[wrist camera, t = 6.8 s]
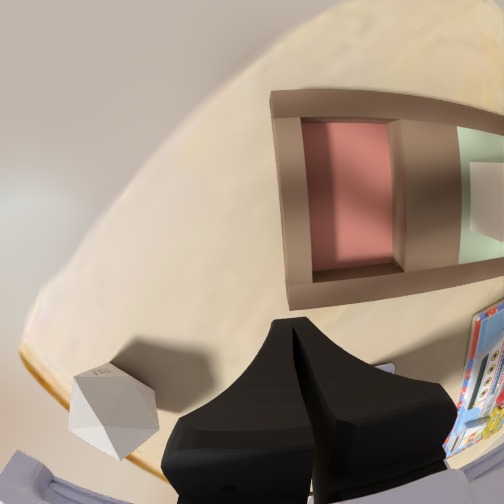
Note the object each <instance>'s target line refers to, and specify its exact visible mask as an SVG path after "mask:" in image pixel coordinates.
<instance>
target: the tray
mask: <svg viewBox="0 0 504 504" xmlns="http://www.w3.org/2000/svg"><path fill="white" fill-rule="evenodd" d="M270 110H271V119H272V128H273V137H274V147H275V157H276V167H277V177H278V188H279V199H280V211H281V223H282V235H283V249H284V263H285V278H286V294H287V299H288V304H289V309H290V311H293V310H303V309H313V308H322V307H330V306H338V305H346V304H354V303H361V302H368V301H375V300H382V299H388V298H395V297H401V296H407V295H413V294H418V293H424V292H429V291H435V290H440V289H445V288H450V287H455V286H460V285H465V284H469V283H474V282H478V281H483V280H487V279H492V278H496V277H500V276H504V243H502V242H500V241H497V240H495V239H492V238H489V237H487V236H484V235H481V234H478V233H476V232H473V231H470V212H471V186H470V163H469V162H492V163H504V116H501V115H497V114H494V113H491V112H487V111H484V110H480V109H476V108H472V107H468V106H464V105H460V104H455V103H451V102H446V101H441V100H435V99H430V98H424V97H417V96H410V95H403V94H395V93H385V92H374V91H359V90H334V89H305V90H279V91H271V94H270Z"/></svg>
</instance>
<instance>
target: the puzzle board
mask: <svg viewBox="0 0 504 504" xmlns="http://www.w3.org/2000/svg"><path fill="white" fill-rule="evenodd" d="M455 405H456V407H457V409H458V416H457V419H456V422H455V424H454V427H453V428H452V430H451V432H450V434H449V436H448V437H447V439H446V441H445V443H444V444H443V448H444V450H445V452H446V458H445V459H447V458H449V457H451V456H453V455H455V454H457V453H459V452H461V451H463V450H465V449H466V448H468V447H470V446H472V445H473V444H475V443H477V442H478V441H480V440H482V439H483V438H484V439H487V438H489V437H490V436H492V435H493V434H495V433H496V432H498V431H499V430H500V429H502V428H503V426H504V298H502V299H501V300H499V301H497V302H495V303H493V304H492V305H490V306H488V307H486V308H484V309H482V310H481V311H479V312H477V313H475V314H474V315H473V317H472V322H471V330H470V337H469V344H468V350H467V355H466V361H465V366H464V371H463V375H462V380H461V384H460V388H459V392H458V396H457V400H456V404H455Z"/></svg>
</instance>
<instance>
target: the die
mask: <svg viewBox="0 0 504 504" xmlns="http://www.w3.org/2000/svg"><path fill="white" fill-rule="evenodd" d="M69 416H70V417H69V430H70V431H71V432H73V433H75V434H76V435H77V436H79V437H81V438H82V439H84V440H85V441H87V442H88V443H90V444H92V445H93V446H95V447H97V448H98V449H100V450H102V451H103V452H105V453H107V454H109V455H110V456H112V457H114V458H116V459H118V460H120V461H121V460H122V459H124V458H125V457H126V456H128V455H129V454H130V453H131V452H133V451H134V450H135V449H136V448H138V447H139V446H140V445H141V444H142V443H144V442H145V441H146V440H147V439H148V438H150V437H151V436H152V435H153V434H154V433H156V432H157V431H158V430H159V422H158V414H157V406H156V398H155V390H153V389H152V388H150V387H148V386H146V385H145V384H143V383H141V382H140V381H138V380H136V379H135V378H133V377H131V376H130V375H128V374H127V373H125V372H123V371H122V370H120V369H118V368H117V367H115V366H114V365H112V364H111V363H106V364H104V365H101V366H99V367H96V368H94V369H91V370H89V371H86V372H84V373H81V374H79V375H76V376H74V377H73V383H72V392H71V402H70V415H69Z"/></svg>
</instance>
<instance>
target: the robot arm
mask: <svg viewBox="0 0 504 504" xmlns="http://www.w3.org/2000/svg"><path fill="white" fill-rule="evenodd" d="M394 371H395V366H394V364H393V363H388V364H384V365H379V366H372V365H370V364H368V363H365V362H363V361H362V360H360V359H358V358H356V357H354V356H353V355H351V354H349V353H348V352H346V351H345V350H343V349H342V348H341V347H339V346H338V345H336V344H335V343H334V342H333V341H331V340H330V339H329V338H328V337H327V336H326V335H324V334H323V333H322V332H321V331H320V330H319V329H318V328H317V327H316V326H315V325H314V324H313V323H312V322H311V321H310V320H309V319H308V318H307V317H297V318H287V319H276V320H273V321H272V323H271V328H270V330H269V333H268V335H267V338H266V340H265V341H264V343H263V345H262V347H261V349H260V351H259V352H258V354H257V355H256V357H255V358H254V360H253V361H252V362H251V364H250V365H249V366H248V368H247V369H246V370H245V371H244V372H243V374H242V375H241V376H240V377H239V378H238V379H237V380H236V381H235V382H234V383H233V384H232V385H231V386H230V387H228V388H227V389H226V390H225V391H224V392H222V393H221V394H220V395H218V396H217V397H216V398H214V399H213V400H211V401H210V402H208V403H207V404H205V405H203V406H202V407H200V408H198V409H196V410H194V411H192V412H190V413H189V414H187V415H185V416H183V417H180V418H179V419H178V421H177V423H176V425H175V427H174V429H173V431H172V433H171V435H170V437H169V439H168V442H167V445H166V448H165V451H164V455H163V458H162V462H161V469H162V471H163V474H164V475H165V477H166V478H167V480H168V481H169V482H170V484H171V485H172V487H173V488H174V489H175V490H176V492H177V493H178V495H179V497H178V501H177V504H504V443H503V444H501V445H500V446H498V447H497V448H495V449H494V450H492V451H490V452H488V453H487V454H485V455H483V456H482V457H480V458H478V459H477V460H475V461H473V462H471V463H469V464H467V465H465V466H463V467H461V468H459V469H451V468H450V466H449V464H448V463H447V461H446V459H445V458H446V452H445V450H444V448H443V444H444V443H445V441H446V439H447V437H448V436H449V434H450V432H451V430H452V428H453V427H454V424H455V422H456V419H457V416H458V409H457V407H456V405H455V404H454V402H453V401H452V399H451V398H450V396H449V395H448V393H447V392H446V391H445V390H444V388H443V387H442V386H441V385H440V384H438V383H431V382H425V381H419V380H414V379H409V378H406V377H402V376H399V375H395V374H394ZM311 479H312V487H313V496H311V498H310V499H309V502H308V503H307V501H308V497H309V494H310V487H311ZM0 503H1V504H133V503H129V502H125V501H122V500H118V499H115V498H112V497H108V496H105V495H102V494H99V493H96V492H93V491H90V490H88V489H85V488H82V487H79V486H77V485H75V484H72V483H70V482H67V481H65V480H63V479H60V478H58V477H56V476H54V475H53V473H52V472H51V471H50V470H49V469H48V468H47V467H46V466H45V465H44V464H43V463H41V462H40V461H39V460H37V459H36V458H34V457H32V456H30V455H28V454H26V453H24V452H22V451H20V450H17V451H16V452H15V453H14V455H13V456H12V458H11V459H10V461H9V462H8V464H7V465H6V467H5V468H4V470H3V471H2V473H1V474H0Z"/></svg>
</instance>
